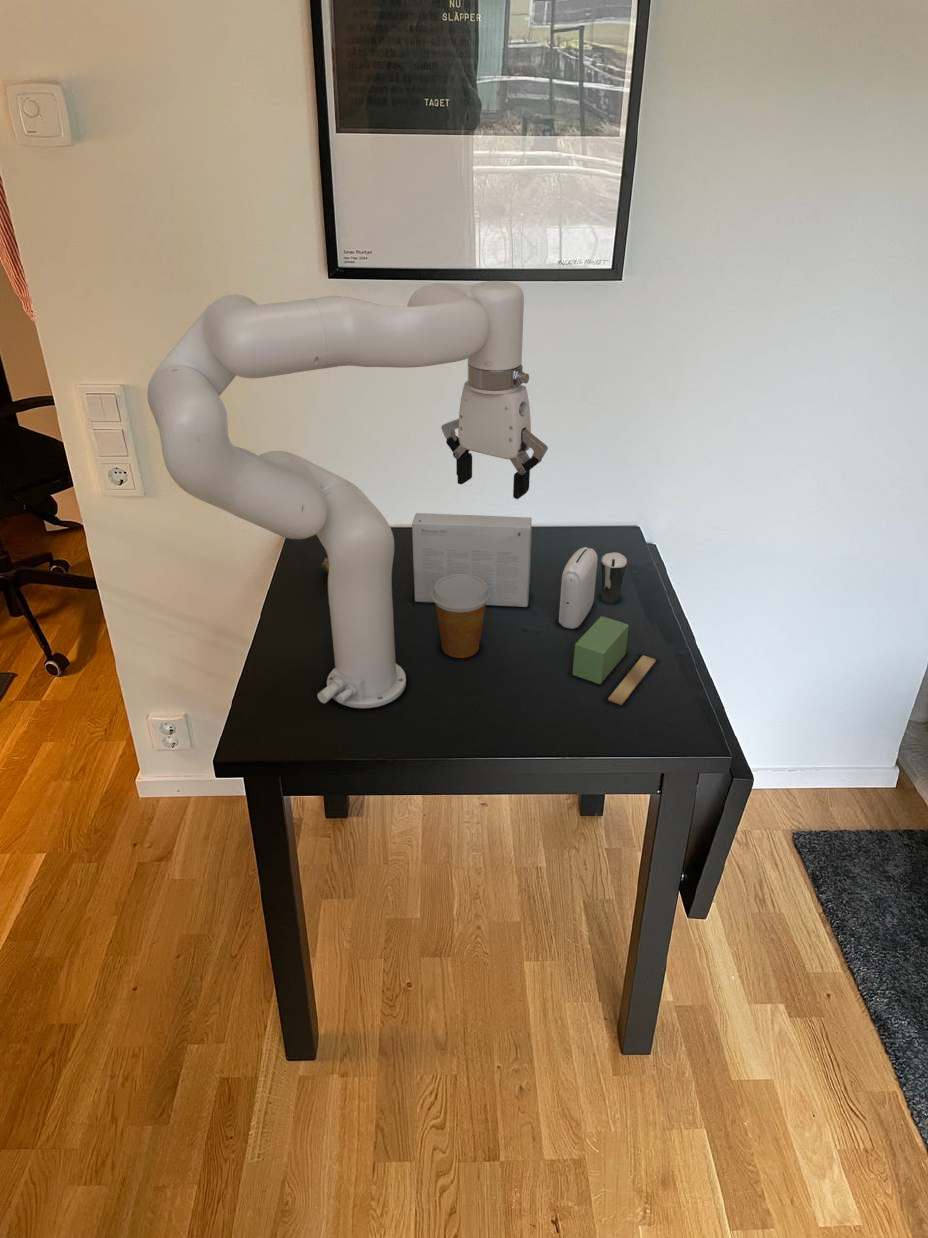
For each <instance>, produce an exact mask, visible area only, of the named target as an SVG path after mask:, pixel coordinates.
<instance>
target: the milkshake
mask: <svg viewBox="0 0 928 1238" xmlns="http://www.w3.org/2000/svg"><path fill="white" fill-rule="evenodd" d="M600 561H601V594H600V595H601V598H600V599H601V600H602V601H603V602H605V603H609V604H616V603H617V602H620V601H619V600H620V597H621V590H622V586H623V585H622V584H623V580H624V576H625V572H626V568H627V563H628V560H627V557H626V556H625V555H623V554H622V553H620V552H613V551H612V552H607V553H604V555H602V556H601V559H600Z"/></svg>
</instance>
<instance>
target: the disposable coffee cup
mask: <svg viewBox="0 0 928 1238" xmlns="http://www.w3.org/2000/svg"><path fill="white" fill-rule="evenodd" d="M431 594H432V598H433V600H434V606H435V611H436V612H435V613H436V618H437V619H436V620H437V625H438V631H439V637H440V644H441V649H442V651H443V653H444V654H445V655H447V656H449V657H452V658H456V659H465V658H469V657H472V656H474V655H475V654H478V651H479V649H480V643H481V638H482V636H481V635H482V631H483V625H484V618H485V611H486V606H487V605H486V602H487V600H488V599H489V590H488V589H487V586H486V584H485V582H484V581H483V580H482V579H480V578H478V577H476V576H472V575H467V574H453V575H449V576H445V577H443V578H441V579H439V580H438V581H437V582H436V583H435V586H434V588H433V590H432V593H431Z"/></svg>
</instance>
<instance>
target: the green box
mask: <svg viewBox="0 0 928 1238" xmlns="http://www.w3.org/2000/svg"><path fill="white" fill-rule="evenodd" d="M629 629H630V624H629V623H626V622H621V621H619V620H616V619H612V618H609V617H606V616H603V615H602V616H600V617H599V618H598V619H597V620H596V621H595V622H594V623H593V625H592V626H590V628H589V629H588V630H587V631H586V632H584V634H583V635H582V636H581V637H580V638H579V639H578V640H577V642H576V643H575V644H574V651H573V652H574V653H573V661H572V663H573V664H572V673H571V674H572V676H575V677H578V678H581V679H584V680H586V681H589V682H593V683H595V684H597V685H601V684H602V683H603V682H604V681H605V680H606V678H607V677H608V676H609V675H610V674H611V672H612V671H613V670H614V669H615V668H616V667H617V665H618V664H619V663H620V662H621V660H622V659H623V658H624V657H625V656H626V653H627V645H628V638H629V637H628V636H629Z"/></svg>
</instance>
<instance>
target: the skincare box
mask: <svg viewBox="0 0 928 1238" xmlns="http://www.w3.org/2000/svg"><path fill="white" fill-rule="evenodd" d="M532 520H533V519H532V517H531V516H530V517H529V516H508V515H507V516H503V515H478V514H451V513H449V514H448V513H424V512H416V513H415V514H414V517H413V519H412V522H411V528H412V529H411V531H412V532H411V533H412V536H411V537H412V567H413V568H412V569H413V591H414V594H413V595H414V602H415V603H434V600H433V598H432V594H431V593H432V590H433V588H434V586H435V583H436V582H437V581H438V580H439V579H441V578H443V577H445V576H449V575H453V574H467V575H472V576H476V577H478V578H480V579H482V580H483V581H484V582H485V584H486V586H487V589H488V590H489V599H488V600H487V602H486V606H496V607H517V608H518V607H519V608H521V607H522V608H528V607H529V601H530V585H531V584H530V583H531V582H530V580H531V555H532ZM434 604H435V603H434Z"/></svg>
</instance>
